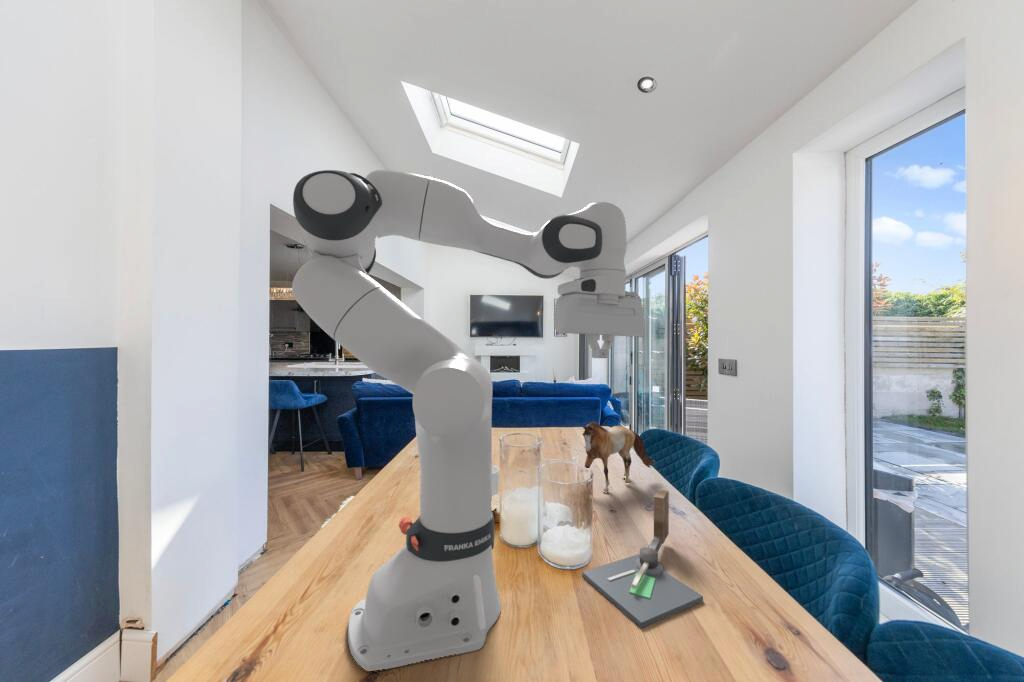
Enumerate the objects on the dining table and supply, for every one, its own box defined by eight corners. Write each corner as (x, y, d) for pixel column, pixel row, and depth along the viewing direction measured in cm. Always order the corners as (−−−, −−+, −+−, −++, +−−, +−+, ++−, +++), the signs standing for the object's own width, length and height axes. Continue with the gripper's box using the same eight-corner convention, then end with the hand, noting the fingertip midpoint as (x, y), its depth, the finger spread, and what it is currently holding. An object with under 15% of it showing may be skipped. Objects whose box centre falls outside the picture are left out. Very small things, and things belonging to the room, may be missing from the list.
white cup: (494, 517, 92) (494, 475, 92) (463, 514, 94) (463, 472, 94) (501, 504, 100) (502, 465, 100) (472, 501, 101) (473, 463, 101)
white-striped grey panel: (641, 628, 56) (641, 620, 56) (582, 576, 69) (582, 570, 69) (706, 599, 63) (706, 592, 63) (641, 557, 75) (641, 551, 75)
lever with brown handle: (643, 593, 62) (644, 533, 62) (624, 586, 63) (624, 528, 64) (672, 537, 80) (672, 491, 80) (656, 533, 82) (656, 488, 82)
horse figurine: (587, 504, 100) (588, 425, 100) (566, 494, 106) (566, 420, 107) (655, 480, 119) (656, 413, 119) (634, 473, 125) (634, 410, 125)
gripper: (630, 294, 83) (628, 358, 83) (550, 285, 74) (548, 357, 74) (652, 291, 78) (651, 359, 78) (569, 281, 69) (567, 358, 69)
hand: (600, 358), depth 76 cm, fingers closed
